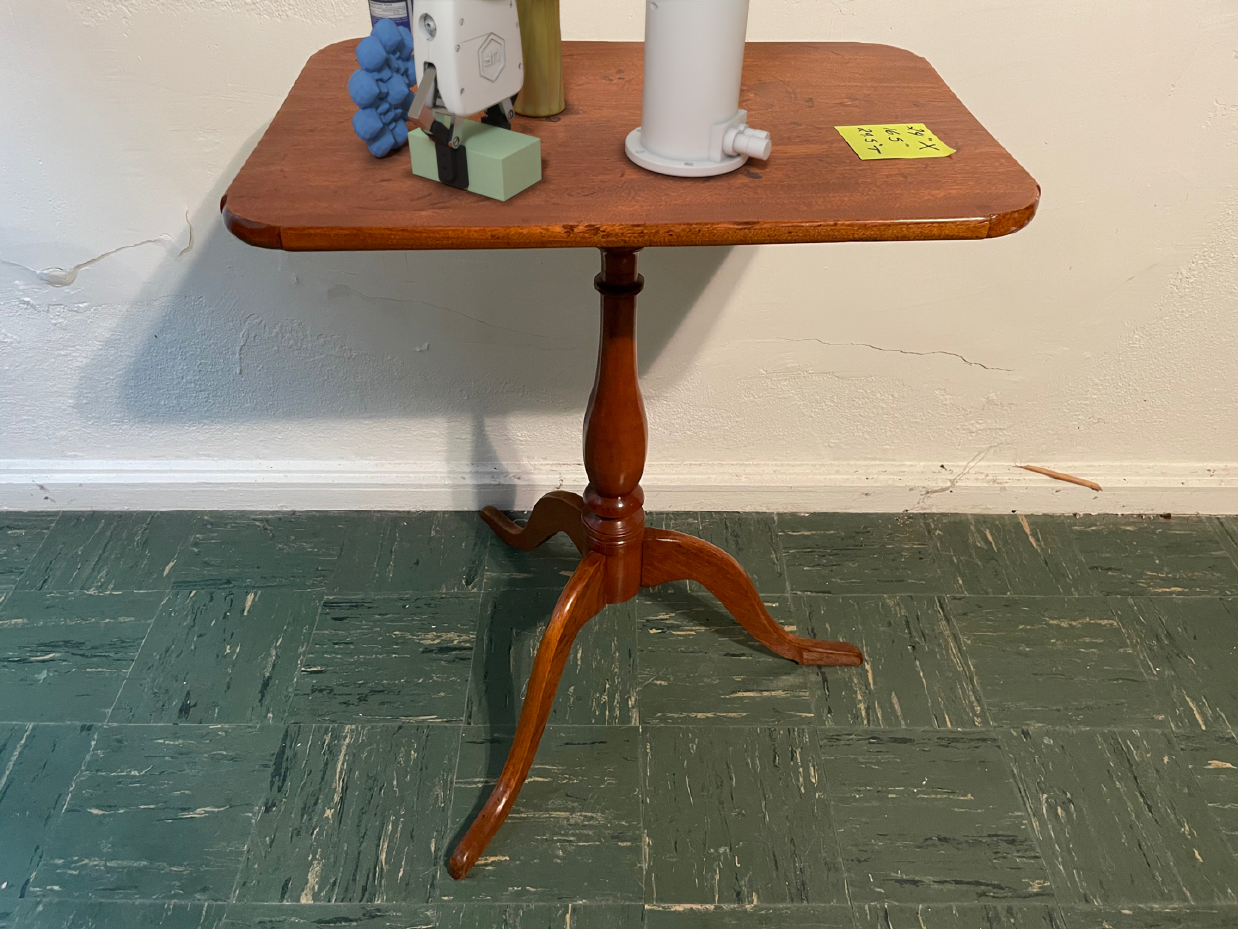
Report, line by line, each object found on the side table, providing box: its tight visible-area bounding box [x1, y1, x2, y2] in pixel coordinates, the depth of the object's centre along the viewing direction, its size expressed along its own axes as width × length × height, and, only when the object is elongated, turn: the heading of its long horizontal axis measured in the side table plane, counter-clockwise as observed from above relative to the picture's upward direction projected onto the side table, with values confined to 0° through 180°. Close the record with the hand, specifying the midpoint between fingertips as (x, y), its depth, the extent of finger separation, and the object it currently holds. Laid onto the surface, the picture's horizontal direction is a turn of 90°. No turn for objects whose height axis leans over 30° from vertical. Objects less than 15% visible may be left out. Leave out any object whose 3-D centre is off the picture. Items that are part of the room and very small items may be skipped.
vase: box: [513, 0, 566, 118], centre depth 99 cm, size 6×6×14 cm
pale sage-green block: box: [407, 115, 542, 202], centre depth 88 cm, size 11×6×4 cm, turn 58°
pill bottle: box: [367, 0, 414, 56], centre depth 114 cm, size 6×6×10 cm
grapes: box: [347, 18, 417, 158], centre depth 90 cm, size 12×7×12 cm, turn 161°
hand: (476, 170), depth 89 cm, fingers closed on pale sage-green block, 6 cm apart
